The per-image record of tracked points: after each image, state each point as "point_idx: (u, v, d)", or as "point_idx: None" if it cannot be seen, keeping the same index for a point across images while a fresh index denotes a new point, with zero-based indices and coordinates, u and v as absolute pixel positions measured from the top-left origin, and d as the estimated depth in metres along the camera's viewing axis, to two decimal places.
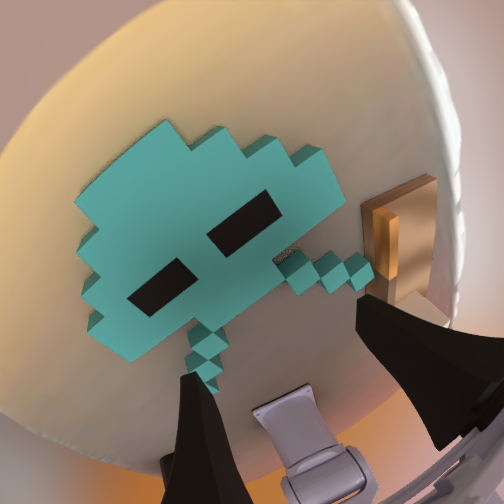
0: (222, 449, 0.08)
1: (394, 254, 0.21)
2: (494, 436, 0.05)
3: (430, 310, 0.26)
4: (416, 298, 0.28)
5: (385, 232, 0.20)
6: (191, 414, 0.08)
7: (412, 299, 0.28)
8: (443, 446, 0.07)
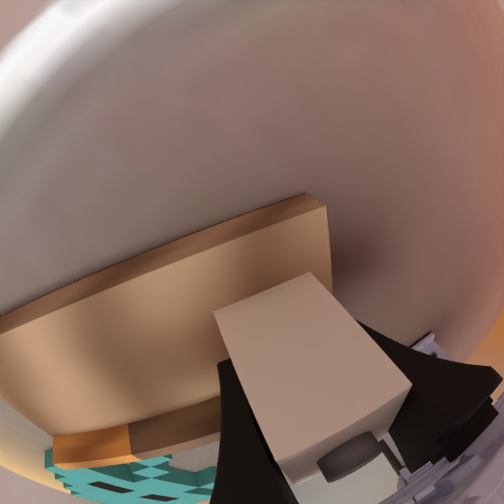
0: (262, 434, 0.08)
1: (98, 462, 0.10)
2: (494, 436, 0.05)
3: None
4: None
5: None
6: (234, 399, 0.08)
7: None
8: (414, 469, 0.07)
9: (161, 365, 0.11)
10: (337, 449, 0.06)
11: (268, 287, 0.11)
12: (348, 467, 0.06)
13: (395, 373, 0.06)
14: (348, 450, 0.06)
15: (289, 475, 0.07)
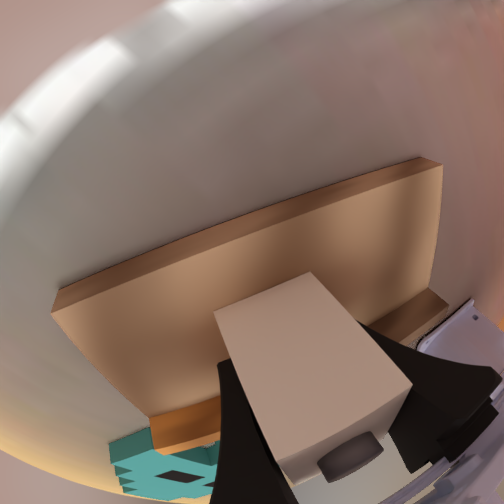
0: (262, 434, 0.08)
1: None
2: (494, 436, 0.05)
3: None
4: None
5: None
6: (234, 399, 0.08)
7: None
8: (414, 469, 0.07)
9: None
10: (337, 449, 0.06)
11: (408, 224, 0.12)
12: (348, 467, 0.06)
13: (395, 373, 0.06)
14: (348, 450, 0.06)
15: (289, 475, 0.07)
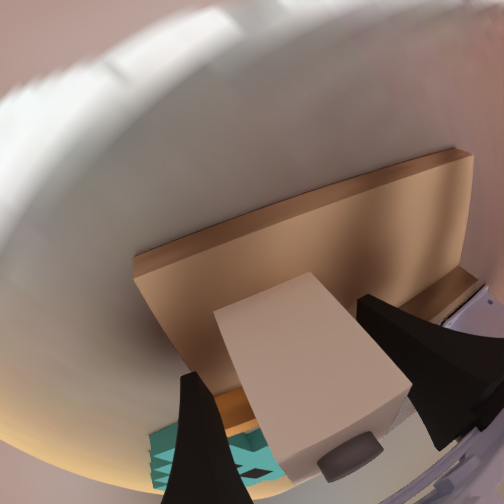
0: (222, 449, 0.08)
1: None
2: (494, 436, 0.05)
3: None
4: None
5: None
6: (191, 414, 0.08)
7: None
8: (443, 446, 0.07)
9: (384, 268, 0.13)
10: (337, 449, 0.06)
11: (449, 203, 0.12)
12: (348, 467, 0.06)
13: (395, 373, 0.06)
14: (348, 450, 0.06)
15: (289, 475, 0.07)
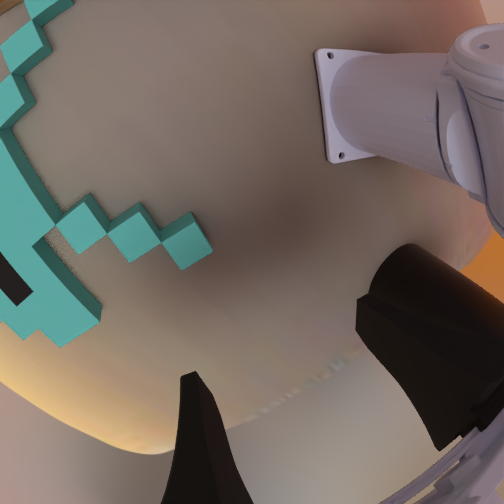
0: (222, 449, 0.08)
1: None
2: (494, 436, 0.05)
3: None
4: None
5: None
6: (191, 414, 0.08)
7: None
8: (443, 446, 0.07)
9: None
10: None
11: None
12: None
13: None
14: None
15: None
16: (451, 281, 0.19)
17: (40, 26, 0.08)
